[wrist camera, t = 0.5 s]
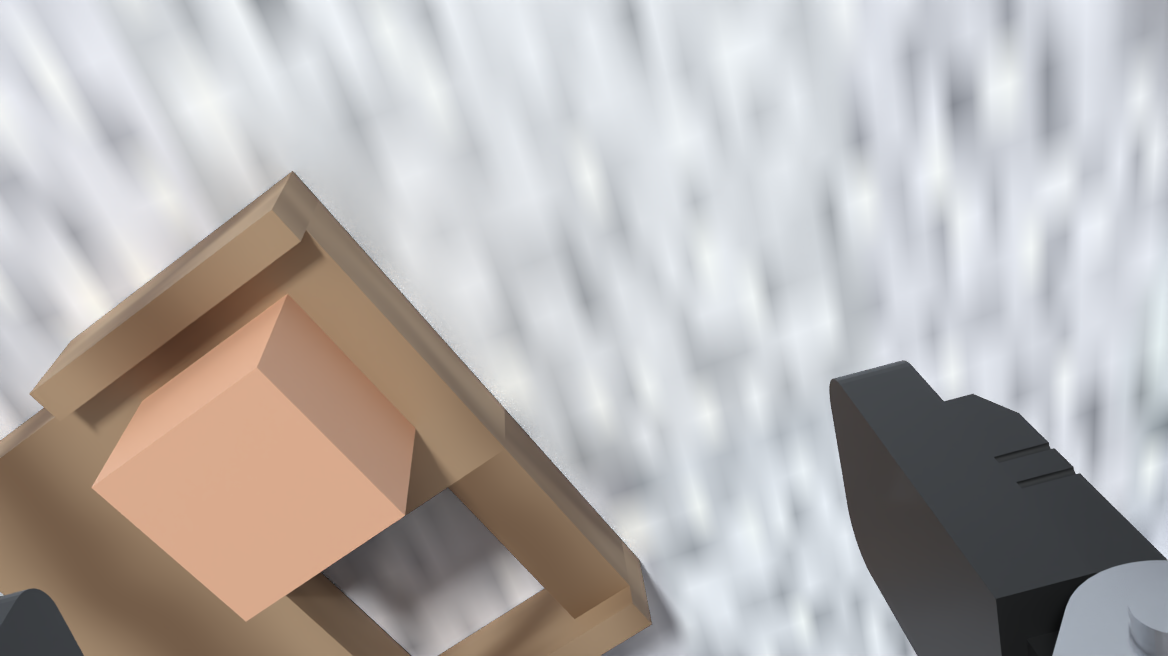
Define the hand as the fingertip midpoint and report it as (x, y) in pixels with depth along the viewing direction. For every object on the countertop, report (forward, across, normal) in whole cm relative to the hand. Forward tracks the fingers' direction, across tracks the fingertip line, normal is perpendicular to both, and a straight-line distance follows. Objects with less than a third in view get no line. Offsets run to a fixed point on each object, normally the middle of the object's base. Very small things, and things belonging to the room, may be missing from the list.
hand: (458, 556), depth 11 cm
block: (+17, +6, +6) cm, 19 cm away
